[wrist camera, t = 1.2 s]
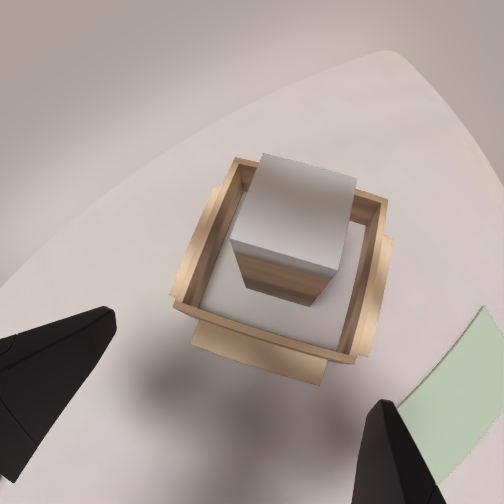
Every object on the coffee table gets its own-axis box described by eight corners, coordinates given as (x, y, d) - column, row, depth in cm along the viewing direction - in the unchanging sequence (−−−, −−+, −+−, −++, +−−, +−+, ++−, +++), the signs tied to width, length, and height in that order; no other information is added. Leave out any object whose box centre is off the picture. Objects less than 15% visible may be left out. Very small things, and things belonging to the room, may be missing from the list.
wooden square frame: (355, 393, 20) (372, 400, 16) (157, 330, 22) (136, 324, 18) (395, 209, 24) (412, 186, 21) (226, 162, 27) (220, 134, 23)
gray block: (309, 306, 22) (337, 270, 13) (246, 287, 23) (229, 238, 13) (325, 247, 24) (357, 178, 14) (266, 230, 24) (263, 153, 15)
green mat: (433, 487, 16) (435, 488, 15) (380, 422, 19) (382, 423, 18) (522, 376, 18) (524, 376, 17) (482, 306, 21) (484, 305, 20)
